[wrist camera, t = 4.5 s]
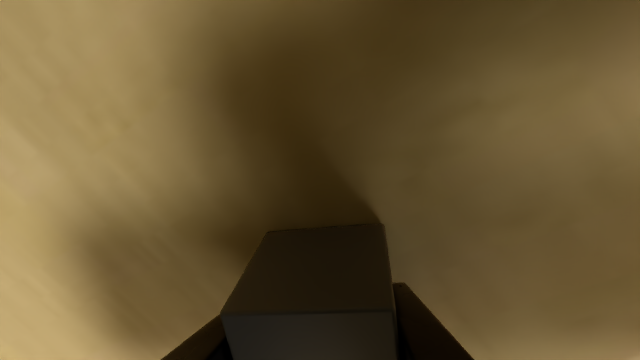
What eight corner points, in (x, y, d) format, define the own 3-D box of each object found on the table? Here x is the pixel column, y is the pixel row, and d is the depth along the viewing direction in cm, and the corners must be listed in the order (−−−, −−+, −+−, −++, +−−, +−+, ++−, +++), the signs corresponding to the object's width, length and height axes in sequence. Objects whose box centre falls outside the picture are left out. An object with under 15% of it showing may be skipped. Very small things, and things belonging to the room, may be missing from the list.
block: (383, 222, 9) (395, 308, 6) (393, 321, 10) (407, 441, 7) (266, 231, 10) (216, 314, 6) (286, 324, 11) (253, 435, 8)
